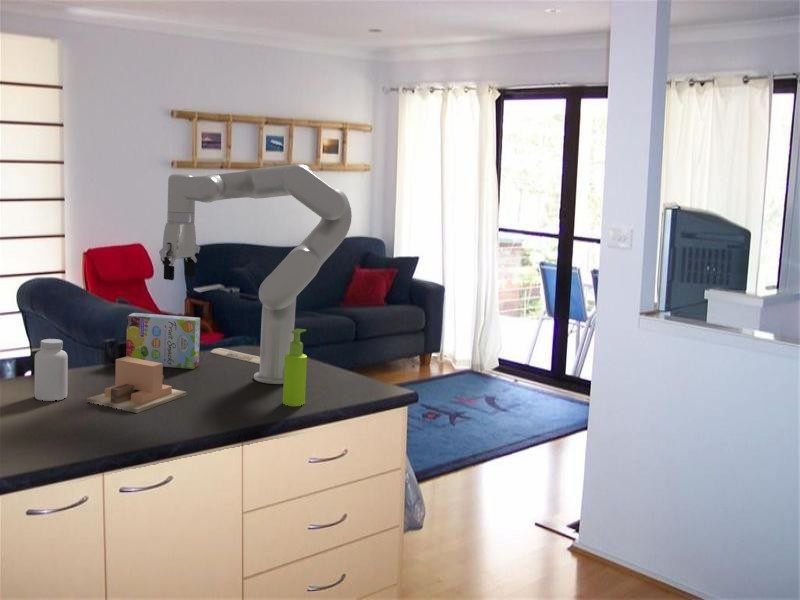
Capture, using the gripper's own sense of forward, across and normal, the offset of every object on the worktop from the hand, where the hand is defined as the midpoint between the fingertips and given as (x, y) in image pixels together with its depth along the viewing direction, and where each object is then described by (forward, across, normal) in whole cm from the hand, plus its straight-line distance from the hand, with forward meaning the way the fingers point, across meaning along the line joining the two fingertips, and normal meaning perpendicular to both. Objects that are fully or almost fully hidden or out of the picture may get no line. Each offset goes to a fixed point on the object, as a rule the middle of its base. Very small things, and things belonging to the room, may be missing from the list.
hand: (179, 277), depth 264 cm
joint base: (+28, +27, +8) cm, 40 cm away
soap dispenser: (+28, +6, +43) cm, 52 cm away
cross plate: (+27, +27, +8) cm, 39 cm away
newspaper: (+29, -28, +4) cm, 41 cm away
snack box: (+29, -6, -10) cm, 31 cm away
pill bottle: (+28, +39, -10) cm, 49 cm away
